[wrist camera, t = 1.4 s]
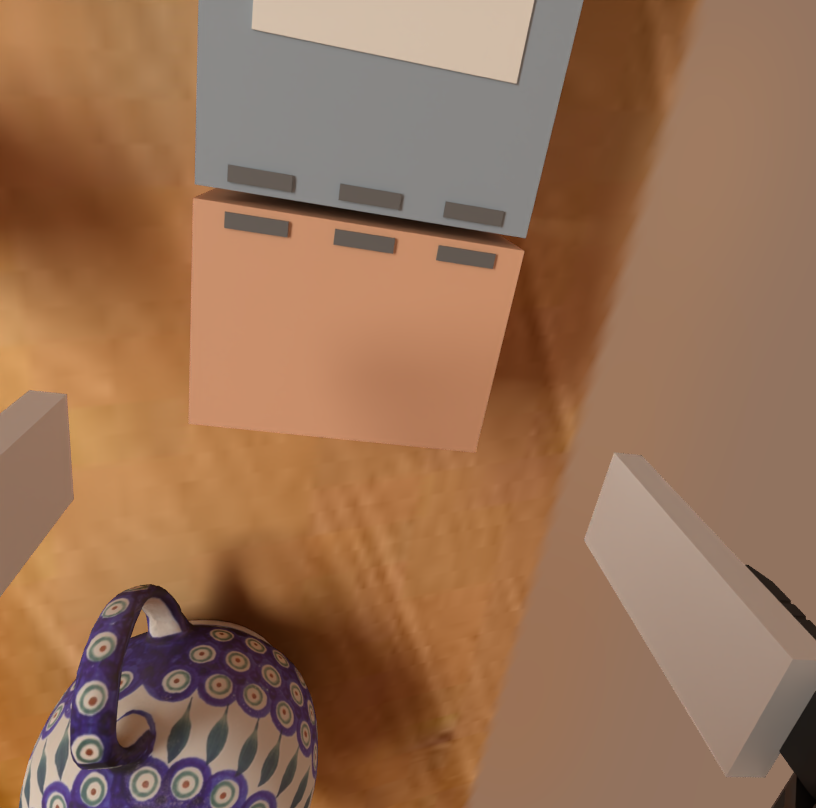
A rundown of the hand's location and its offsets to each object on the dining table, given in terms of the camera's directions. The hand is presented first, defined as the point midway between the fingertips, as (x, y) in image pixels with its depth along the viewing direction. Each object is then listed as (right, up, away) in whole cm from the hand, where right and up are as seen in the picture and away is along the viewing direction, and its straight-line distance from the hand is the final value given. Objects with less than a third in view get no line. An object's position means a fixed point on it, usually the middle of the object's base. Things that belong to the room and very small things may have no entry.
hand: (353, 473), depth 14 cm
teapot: (-12, -16, +24) cm, 31 cm away
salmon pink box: (-1, +7, +14) cm, 16 cm away
